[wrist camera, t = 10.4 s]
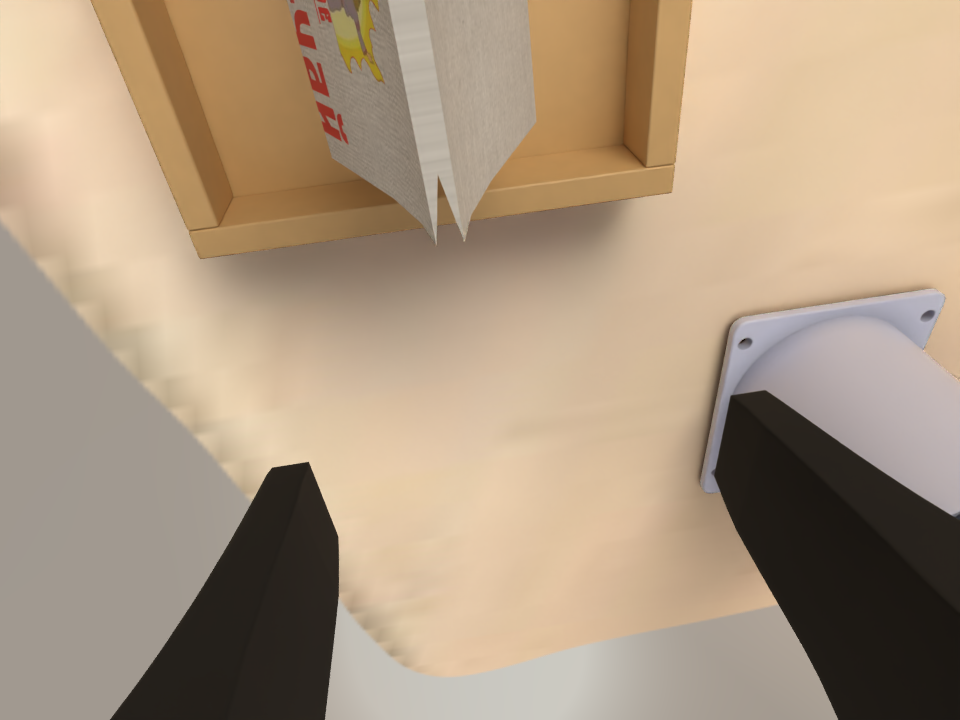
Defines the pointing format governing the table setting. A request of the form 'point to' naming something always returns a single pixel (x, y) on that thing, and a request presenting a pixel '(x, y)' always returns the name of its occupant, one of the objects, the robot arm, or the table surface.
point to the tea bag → (421, 93)
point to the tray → (339, 191)
